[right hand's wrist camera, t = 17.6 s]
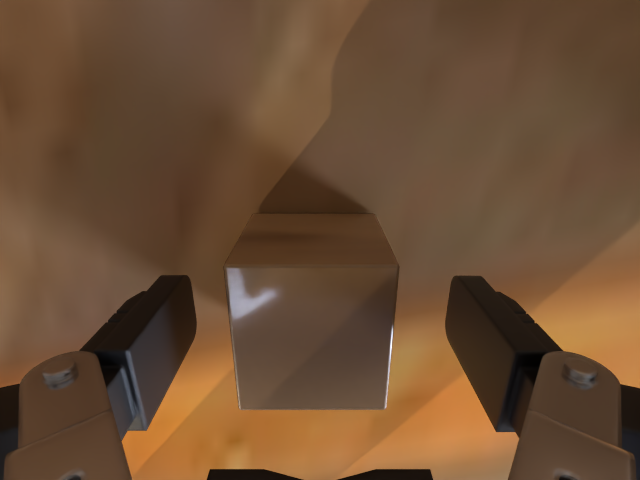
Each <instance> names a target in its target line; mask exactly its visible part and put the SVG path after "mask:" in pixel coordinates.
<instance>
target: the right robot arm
mask: <svg viewBox="0 0 640 480" xmlns="http://www.w3.org/2000/svg"><path fill="white" fill-rule="evenodd" d="M196 326H197V321H196V313H195V306H194V300H193V293H192V286H191V281H190V278H189V277H188V276H187V275H162V276H160V277H159V278H158V279H157V280H156V281H155V282H154V284H153V285H152V286H151V287H150V288H149V289H148V290H147V291H142V292H140V293H139V294H137V295H135V296H134V297H132V298H130V299H128V300H127V301H126V302H125V303H124V304H123V305H122V306H121V307H120V308H119V309H118V310H117V313H115V314H114V315H113V316H112V317H111V318H110V319H109V320H108V323H105V324H104V325H103V326H102V327H101V328H100V329H99V330H98V331H97V333H96V334H95V335H94V336H93V337H92V338H91V339H90V340H89V341H88V342H87V343H86V344H85V345H84V346H83V347H82V348H81V349H80V350H79V351H75V352H69V353H64V354H61V355H58V356H55V357H52V358H50V359H48V360H46V361H44V362H42V363H40V364H39V365H37V366H36V367H34V368H33V369H32V370H30V371H29V372H28V373H27V374H26V375H25V376H24V378H23V379H22V381H21V383H20V384H16V385H11V386H7V387H2V388H0V480H132V477H131V474H130V470H129V467H128V463H127V459H126V456H125V452H124V449H123V445H122V442H121V441H122V439H123V438H124V436H125V434H126V432H127V431H147V429H148V427H149V425H150V423H151V421H152V419H153V417H154V415H155V413H156V411H157V410H158V408H159V406H160V404H161V402H162V400H163V398H164V396H165V394H166V392H167V390H168V388H169V386H170V384H171V383H172V381H173V379H174V377H175V375H176V373H177V371H178V369H179V367H180V365H181V363H182V361H183V359H184V358H185V356H186V354H187V352H188V350H189V348H190V346H191V344H192V342H193V340H194V337H195V334H196ZM445 329H446V335H447V338H448V341H449V343H450V345H451V347H452V349H453V351H454V352H455V354H456V356H457V358H458V360H459V362H460V364H461V366H462V368H463V370H464V371H465V373H466V375H467V377H468V379H469V381H470V383H471V385H472V387H473V389H474V391H475V392H476V394H477V396H478V398H479V400H480V402H481V404H482V406H483V408H484V410H485V411H486V413H487V415H488V417H489V419H490V421H491V423H492V425H493V427H494V429H495V430H496V432H516V434H517V435H518V437H519V442H518V445H517V449H516V452H515V456H514V459H513V463H512V467H511V470H510V474H509V477H508V480H640V388H636V387H631V386H626V385H622V384H620V383H619V381H618V379H617V378H616V376H615V375H614V374H613V373H612V372H611V371H610V370H608V369H607V368H606V367H604V366H603V365H601V364H600V363H598V362H596V361H594V360H592V359H590V358H588V357H585V356H582V355H579V354H576V353H571V352H565V351H563V350H562V349H561V348H560V347H559V346H558V345H557V344H556V343H555V342H554V341H553V340H552V339H551V338H550V337H549V336H548V335H547V334H546V332H545V331H544V330H543V329H542V328H541V327H540V326H539V325H538V324H537V323H535V322H534V320H533V319H532V318H531V317H530V316H529V315H528V314H526V312H525V311H524V309H523V308H522V307H521V306H520V305H519V304H518V303H517V302H516V301H514V300H513V299H511V298H509V297H508V296H506V295H504V294H502V293H501V292H495V291H494V289H493V288H492V287H491V286H490V285H489V284H488V283H487V282H486V281H485V279H484V278H483V277H482V276H454V277H453V279H452V282H451V287H450V293H449V300H448V306H447V313H446V320H445ZM207 480H302V479H298V478H294V477H291V476H287V475H283V474H279V473H276V472H272V471H268V470H265V469H210V471H209V474H208V478H207ZM338 480H433V478H432V474H431V471H430V469H375V470H372V471H368V472H364V473H360V474H357V475H353V476H349V477H346V478H342V479H338Z"/></svg>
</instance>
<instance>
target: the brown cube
mask: <svg viewBox="0 0 640 480" xmlns="http://www.w3.org/2000/svg"><path fill="white" fill-rule="evenodd" d="M224 275H225V285H226V294H227V303H228V313H229V322H230V331H231V341H232V350H233V359H234V369H235V378H236V387H237V397H238V406H239V409H240V410H384V409H386V406H387V395H388V385H389V374H390V363H391V352H392V341H393V331H394V320H395V309H396V298H397V287H398V277H399V264H398V262H397V260H396V258H395V256H394V254H393V252H392V249H391V247H390V245H389V243H388V241H387V239H386V237H385V235H384V233H383V231H382V228H381V226H380V224H379V222H378V220H377V218H376V216H375V214H252V216H251V218H250V219H249V221H248V223H247V225H246V227H245V228H244V230H243V232H242V234H241V235H240V237H239V239H238V241H237V243H236V244H235V246H234V248H233V250H232V252H231V253H230V255H229V257H228V259H227V260H226V262H225V264H224Z"/></svg>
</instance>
